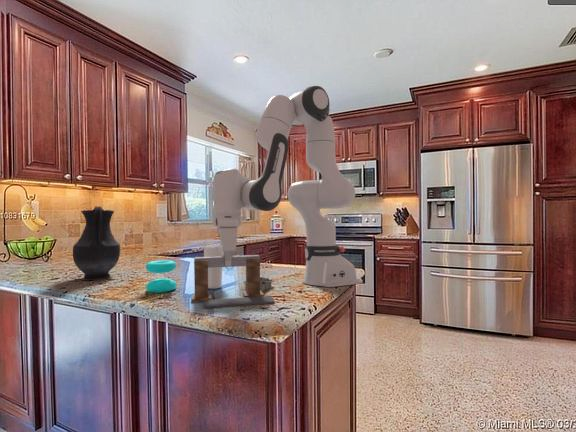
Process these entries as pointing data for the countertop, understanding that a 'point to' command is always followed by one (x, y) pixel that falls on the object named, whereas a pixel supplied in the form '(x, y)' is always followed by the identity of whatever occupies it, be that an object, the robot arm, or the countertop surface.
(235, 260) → the rail
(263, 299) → the grey flat bar
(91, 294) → the countertop surface
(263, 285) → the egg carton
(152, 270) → the donuts
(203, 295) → the post
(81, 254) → the pitcher
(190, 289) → the countertop surface
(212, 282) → the drinking glass
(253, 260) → the post
